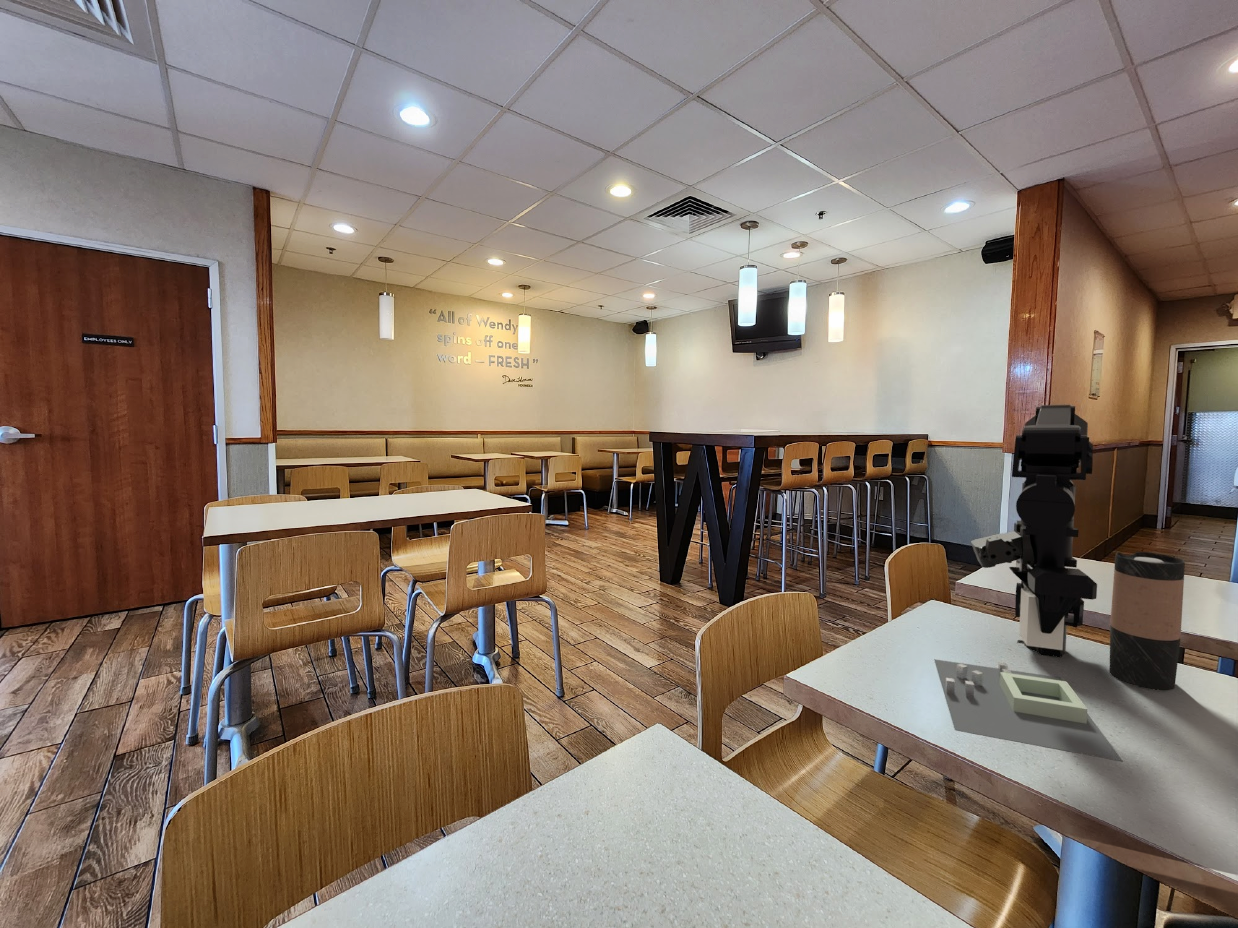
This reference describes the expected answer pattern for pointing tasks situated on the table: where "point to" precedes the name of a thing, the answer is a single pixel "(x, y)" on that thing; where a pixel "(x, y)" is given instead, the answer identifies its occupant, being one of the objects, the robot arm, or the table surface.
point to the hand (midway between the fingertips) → (1041, 627)
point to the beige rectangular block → (1037, 625)
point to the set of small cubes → (976, 679)
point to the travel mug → (1146, 619)
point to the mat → (1016, 715)
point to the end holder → (1063, 709)
